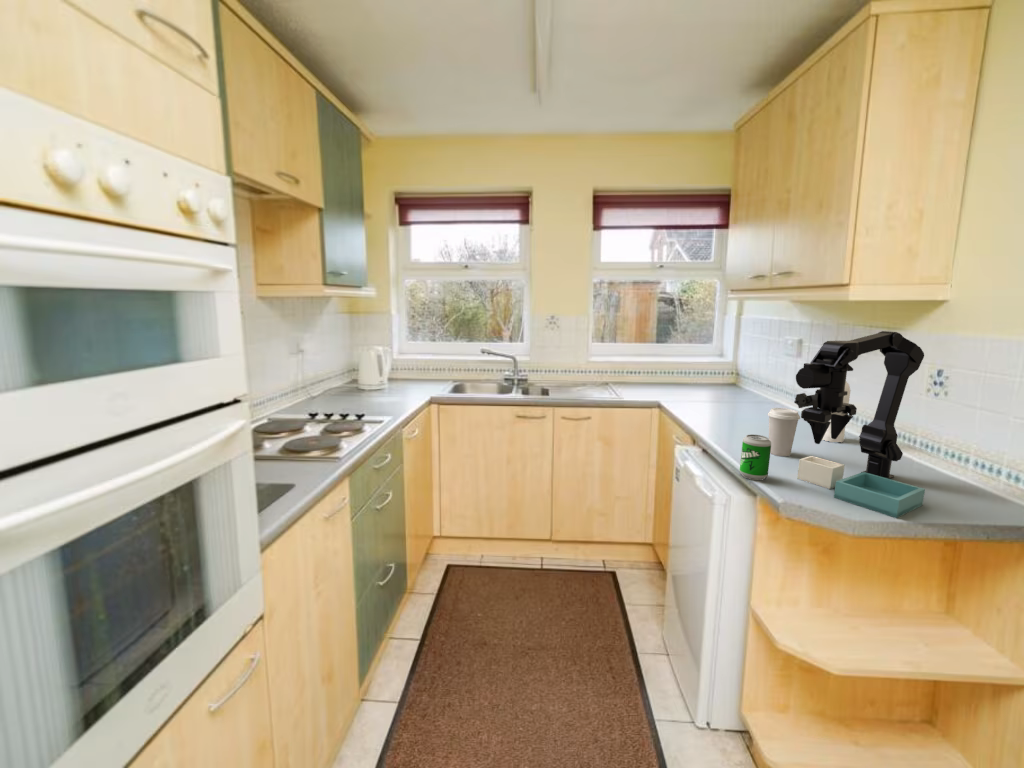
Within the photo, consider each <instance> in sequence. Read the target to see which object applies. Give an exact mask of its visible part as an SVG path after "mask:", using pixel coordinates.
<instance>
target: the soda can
mask: <svg viewBox="0 0 1024 768" xmlns="http://www.w3.org/2000/svg"><path fill="white" fill-rule="evenodd" d="M770 452H771V441H770V440H769V437H767V436H765V435H760V434H747V435H746V436H745V437H742V444H741V453H740V463H739V473H740V474H741V475H742V476H743V478H745V479H748V480H752V481H763V480H764V479H766V478H767V477H768V476H769V470H770V469H769V468H770V458H771V454H770ZM762 479H763V480H762Z"/></svg>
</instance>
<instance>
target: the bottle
mask: <svg viewBox="0 0 1024 768" xmlns="http://www.w3.org/2000/svg"><path fill="white" fill-rule="evenodd" d="M845 391H848V392H847V395H845V396H844V398H843V403H848V404H850V398H851V391H852V390H851V386H850V384H849V382H848V381H846V383H845ZM828 422H831V419H830V421H828ZM845 432H846V426H845V427H844V429H843V430H842V431H841V433H840V434H839V436H838V437H837V438H836V439H832V438H831V423H830V425H829V427H828V429H827V431H826V433H825V435H824V437H823V439H822V440H821V441H823V440H825V441H824V442H827V441H830V442H829V443H833V442H841V443H843V442H844V440H845V436H846V435H845Z"/></svg>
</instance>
